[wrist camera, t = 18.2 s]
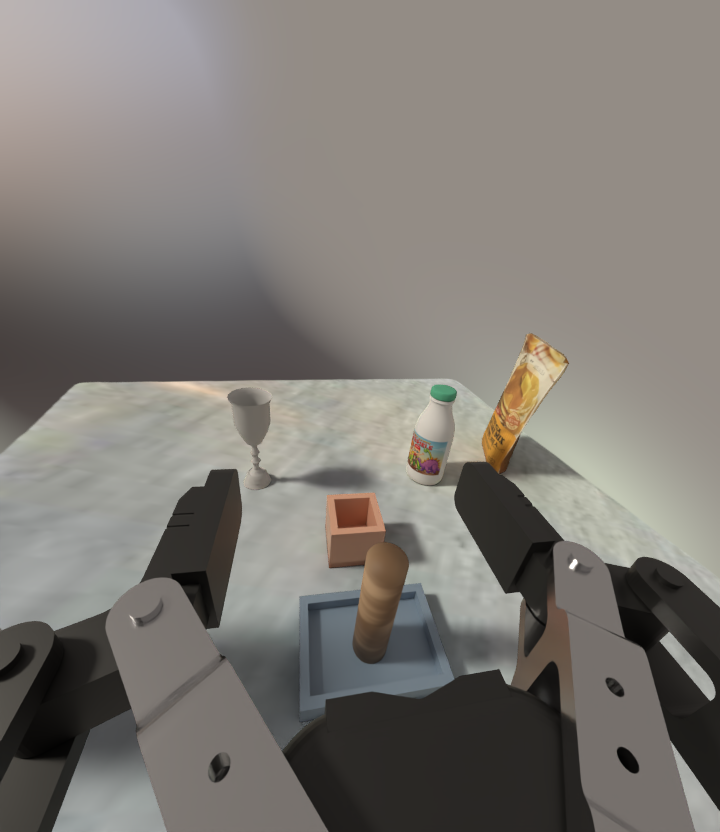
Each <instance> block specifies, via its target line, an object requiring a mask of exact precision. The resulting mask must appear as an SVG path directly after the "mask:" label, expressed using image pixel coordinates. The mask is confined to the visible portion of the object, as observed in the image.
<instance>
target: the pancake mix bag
mask: <svg viewBox="0 0 720 832" xmlns="http://www.w3.org/2000/svg"><path fill="white" fill-rule="evenodd" d="M568 364H569V363H568V361H567V359H566V357H565V356H564V354H562V353H561V352H559V351H558V350H556V349H554V348H553V347H552V346H551V345H549V344H548V343H547V342H545V341H544V340H542V339H541V338H539V337H537V336H536V335H533V334H527V335H526V338H525V341H524V344H523V347H522V350H521V352H520V355H519V357H518V359H517V362H516V364H515V367H514V369H513V371H512V374H511V377H510V379H509V381H508V383H507V385H506V387H505V389H504V392H503V394H502V396H501V398H500V400H499V403H498V405H497V407H496V409H495V411H494V413H493V415H492V418H491V420H490V422H489V424H488V427H487V429H486V431H485V433H484V435H483V438H482V446H483V450H484V454H485V457H486V462H488V463H490V464H491V466H492V467H493V468H494V469H495V470H496V471H497V473H498V474H500V473H503V472H505V471H506V469H507V467H508V464H509V461H510V458H511V456H512V454H513V451H514V448H515V446H516V444H517V442H518V439H519V437H520V434H521V432H522V430H523V429H524V427H525V426H526V424H527V422H528V421H529V419H530V418H531V416H532V415H533V414H534V413H535V412H536V410H537V408H538V407H539V405H540V404H541V402H542V401H543V399H544V398H545V397H546V395H547V394H548V392H549V391H550V390H551V389H552V387H553V386H554V385H555V384H556V382H557V381H558V380H559V379H560V378H561V376H562V375H563V373H564V372H565V370H566V368H567V366H568Z"/></svg>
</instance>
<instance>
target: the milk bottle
mask: <svg viewBox="0 0 720 832" xmlns="http://www.w3.org/2000/svg"><path fill="white" fill-rule="evenodd" d="M430 394H431V395H430V402H429V404H428V406H427V407H426V409H425V410H424V411H423V412H422V414H421V415H420V416H419V418H418V420H417V423H416V426H415V429H414V434H413V438H412V443H411V447H410V452H409V457H408V462H407V467H406V471H407V474H408V476H409V477H410V478H411V479H412V480H413V481H415V482H417V483H419V484H423V485H435V484H437V483H439V482H440V481H441V479H442V477H443V473H444V470H445V466H446V463H447V459H448V456H449V452H450V448H451V445H452V441H453V437H454V431H455V424H454V419H453V414H452V404H453V403H454V402H455V398H456V394H457V391H456V390H455V389H454V388H452V387H450V386H447V385H434V386H433V387H432V389H431V393H430Z"/></svg>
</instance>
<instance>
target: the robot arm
mask: <svg viewBox="0 0 720 832" xmlns="http://www.w3.org/2000/svg"><path fill="white" fill-rule="evenodd" d="M454 500H455V506H456V509H457V511H458V513H459V514H460V516H461V518H462V520H463V521H464V523H465V525H466V526H467V528H468V530H469V532H470V533H471V535H472V537H473V539H474V540H475V542H476V544H477V545H478V547H479V549H480V551H481V552H482V554H483V556H484V558H485V559H486V561H487V563H488V564H489V566H490V568H491V570H492V571H493V573H494V575H495V576H496V578H497V580H498V582H499V583H500V585H501V587H502V589H503V590H504V592H505V594H507V593H515V592H520V593H521V594H522V596H523V597H524V598H523V600H522V602H521V606H520V623H519V641H518V659H517V666H516V671H515V674H514V676H513V680H512V683H511V685H508V684H506V683H505V681H504V679H503V676H502V674H501V672H500V670H499V669H497V670H492V671H486V672H480V673H475V674H469V675H463V676H459V677H458V678H456V679H454V680H453V681H451V682H449V683H448V684H446V685H444V686H443V687H441V688H439V689H438V690H436V691H434V692H433V693H431V694H429V695H428V696H426V697H424V698H421V699H416V698H410V697H404V696H397V695H391V694H385V693H379V692H373V691H371V692H366V693H360V694H354V695H348V696H343V697H337V698H331V699H326V701H325V712H324V714H323V715H322V716H320V717H318V718H316V719H315V720H313V721H312V722H310V723H309V724H308V725H307V726H305V727H304V728H303V729H302V730H301V731H300V732H299V733H298V734H297V735H296V736H295V737H294V738H293V739H292V740H291V741H290V742H289V743H288V745H287V746H286V747H285V748H284V750H283V751H281V749H280V748H279V746H278V744H277V742H276V741H275V739H274V737H273V736H272V734H271V732H270V730H269V729H268V727H267V725H266V724H265V722H264V720H263V718H262V717H261V715H260V713H259V712H258V710H257V708H256V706H255V705H254V703H253V701H252V700H251V698H250V696H249V694H248V693H247V691H246V689H245V688H244V686H243V684H242V682H241V681H240V679H239V677H238V675H237V674H236V672H235V670H234V669H233V667H232V665H231V664H230V662H229V661H228V660H227V658H226V657H225V656H221V654H220V653H219V652H218V650H217V648H216V647H215V645H214V643H213V641H212V640H211V638H210V636H209V634H208V633H207V631H206V629H210V628H218V627H219V625H220V621H221V616H222V611H223V606H224V601H225V597H226V592H227V587H228V582H229V577H230V572H231V568H232V563H233V558H234V553H235V548H236V544H237V539H238V534H239V529H240V524H241V517H242V502H241V494H240V486H239V478H238V472H237V469H221V470H211V471H210V473H209V476H208V478H207V481H206V483H205V486H204V487H192V488H191V489H190V490H189V491H187V492H186V493H185V494H184V495H183V496H182V497H181V498H180V499H179V501H178V503H177V505H176V507H175V510H174V512H173V516H172V517H171V518H170V520H169V523H168V525H167V529H165V531H164V533H163V535H162V538H161V540H160V542H159V544H158V546H157V548H156V551H155V553H154V555H153V557H152V559H151V561H150V564H149V566H148V568H147V570H146V572H145V574H144V576H143V578H142V580H141V582H140V583H139V584H138V585H136V586H134V587H133V588H131V589H130V590H128V591H127V592H126V593H125V594H123V595H122V596H121V597H120V598H119V599H118V601H117V602H116V603H115V604H114V606H113V607H112V608H111V609H109V610H107V611H106V612H104V613H101V614H99V615H96V616H94V617H91V618H88V619H86V620H83V621H80V622H78V623H75V624H72V625H70V626H67V627H64V628H62V629H59V630H56V631H53V630H52V628H51V627H50V626H49V625H48V624H46V623H43V622H38V621H32V622H25V623H20V624H17V625H14V626H11V627H9V628H7V629H4V630H1V629H0V832H52V829H53V827H54V824H55V821H56V819H57V816H58V813H59V811H60V808H61V805H62V803H63V800H64V798H65V795H66V792H67V790H68V787H69V784H70V782H71V779H72V776H73V774H74V771H75V769H76V766H77V763H78V761H79V758H80V755H81V753H82V750H83V747H84V745H85V742H86V739H87V737H88V734H89V732H90V729H91V728H93V727H95V726H97V725H99V724H101V723H103V722H105V721H107V720H109V719H111V718H113V717H115V716H117V715H119V714H121V713H123V712H125V711H127V710H129V709H131V708H132V711H133V714H134V717H135V721H136V725H137V728H136V735H137V739H138V743H139V746H140V750H141V753H142V756H143V759H144V762H145V765H146V768H147V771H148V774H149V777H150V780H151V784H152V787H153V790H154V793H155V796H156V799H157V802H158V805H159V808H160V811H161V814H162V817H163V820H164V823H165V827H166V830H167V832H695V829H694V826H693V822H692V819H691V815H690V811H689V808H688V804H687V800H686V797H685V793H684V789H683V786H682V782H681V778H680V775H679V771H678V768H677V764H676V760H675V757H674V753H673V749H672V746H671V742H672V743H673V745H674V746H675V748H676V749H677V751H678V752H679V753H680V755H681V756H682V758H683V759H684V761H685V762H686V764H687V765H688V766H689V768H690V769H691V771H692V772H693V774H694V775H695V776H696V778H697V779H698V781H699V782H700V784H701V785H702V786H703V788H704V789H705V791H706V792H707V794H708V795H709V796H710V798H711V799H712V801H713V802H714V804H715V805H716V806H717V808H718V809H719V811H720V607H719V606H718V605H716V604H715V603H714V602H713V601H712V600H711V599H710V598H709V597H708V596H707V595H706V594H705V593H703V592H702V591H701V590H700V589H699V588H698V587H697V586H696V585H695V584H694V583H693V582H691V581H690V580H689V579H688V578H687V577H686V576H685V575H684V574H682V573H681V572H680V571H678V570H677V569H675V568H674V567H672V566H670V565H668V564H666V563H664V562H662V561H660V560H657V559H654V558H649V557H641V558H638V559H637V560H636V561H635V562H634V564H633V565H632V566H631V567H630V568H627V567H622V566H617V565H612V564H607V563H604V562H603V561H602V560H601V559H600V558H599V557H598V556H597V555H596V554H595V553H593V552H592V551H591V550H589V549H588V548H586V547H584V546H582V545H580V544H577V543H574V542H570V541H564V540H563V538H562V537H561V536H560V535H559V534H558V533H557V532H556V531H555V529H554V528H553V527H552V526H551V525H550V524H549V523H548V521H547V520H546V519H545V518H544V517H543V516H542V515H541V513H540V512H539V511H538V510H537V509H536V508H535V507H533V506H532V503H531V502H530V501H529V500H528V499H527V497H524V494H523V493H522V492H521V491H520V489H519V488H518V487H517V486H516V485H515V484H514V483H512V482H511V481H510V480H508V479H507V478H505V477H504V476H502V475H499V474H498V473H497V471H496V470H495V469H494V468H493V467H492V466H491V464H490V463H488V462H467V463H466V464H465V465H464V467H463V469H462V473H461V476H460V479H459V482H458V485H457V488H456V491H455V496H454ZM669 631H670V633H671V634H672V635H673V636H674V637H675V638H676V639H677V640H678V642H679V643H680V644H681V645H682V646H683V647H684V648H685V649H686V651H687V652H688V653H689V654H690V655H691V656H692V657H693V658H694V659H695V661H696V662H697V663H698V664H699V665H700V666H701V667H702V668H703V670H704V671H705V672H706V673H707V674H708V676H709V677H710V678H711V680H712V682H713V684H714V687H715V691H716V695H715V698H714V699H713V700H711V701H709V699H708V698H707V697H706V696H705V695H704V694H703V692H702V691H701V690H700V689H699V688H698V686H697V685H696V684H695V683H694V682H693V680H692V679H691V678H690V677H689V676H688V675H687V673H686V672H685V671H684V670H683V669H682V667H681V666H680V665H679V664H678V663H677V662H676V660H675V659H674V658H673V657H672V656H671V654H670V653H669V652H668V651H667V650H666V649H665V647H664V646H663V645H662V644H661V643H660V640H661V639H662V638H663V637H664V636H665V635H666V634H667V633H668V632H669ZM670 741H671V742H670Z"/></svg>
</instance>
